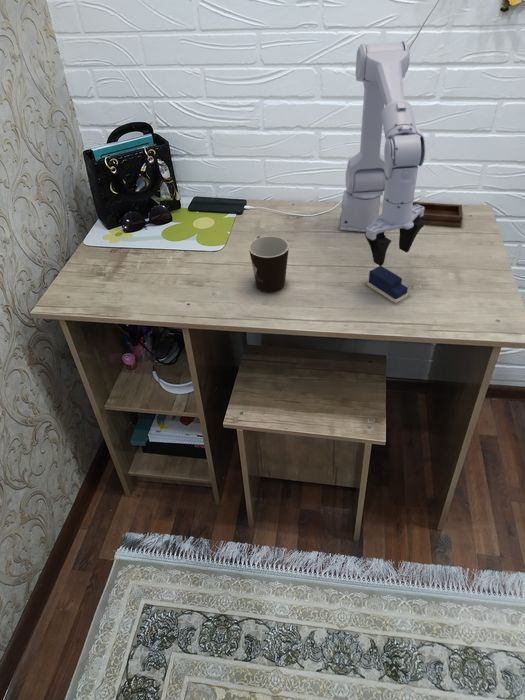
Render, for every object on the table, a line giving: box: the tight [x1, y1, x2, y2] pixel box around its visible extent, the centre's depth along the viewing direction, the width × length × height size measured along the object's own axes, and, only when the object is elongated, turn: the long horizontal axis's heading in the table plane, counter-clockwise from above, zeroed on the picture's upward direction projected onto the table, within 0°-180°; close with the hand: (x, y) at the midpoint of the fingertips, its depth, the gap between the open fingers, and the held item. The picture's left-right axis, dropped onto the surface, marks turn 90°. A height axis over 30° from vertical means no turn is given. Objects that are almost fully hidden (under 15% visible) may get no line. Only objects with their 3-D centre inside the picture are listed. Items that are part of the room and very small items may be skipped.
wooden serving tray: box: [413, 201, 463, 229], centre depth 147 cm, size 16×8×2 cm, turn 77°
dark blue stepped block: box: [366, 265, 409, 304], centre depth 124 cm, size 9×4×4 cm, turn 37°
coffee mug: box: [248, 235, 290, 294], centre depth 127 cm, size 12×9×10 cm
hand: (391, 256), depth 119 cm, fingers open, 7 cm apart
